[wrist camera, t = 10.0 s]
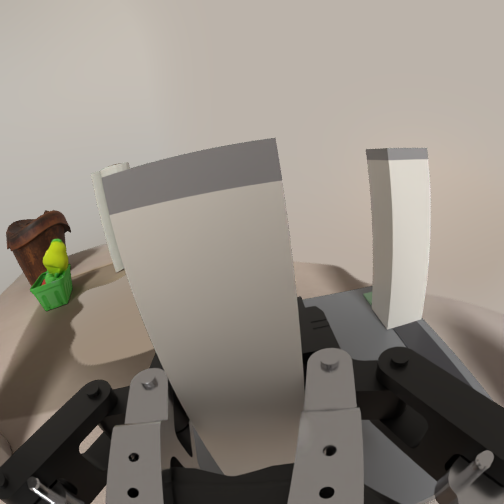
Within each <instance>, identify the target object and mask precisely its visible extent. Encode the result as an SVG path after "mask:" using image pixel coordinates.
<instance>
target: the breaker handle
mask: <svg viewBox="0 0 504 504" xmlns="http://www.w3.org/2000/svg"><path fill="white" fill-rule="evenodd" d="M102 184H103V189H104V193H105V198H106V202H107V207H108V211H109V215H110V219H111V223H112V227H113V231H114V235H115V239H116V242H117V246H118V249H119V253H120V256H121V259H122V263H123V266H124V269H125V272H126V275H127V278H128V281H129V284H130V287H131V290H132V293H133V296H134V299H135V301H136V304H137V307H138V309H139V312H140V315H141V317H142V320H143V322H144V325H145V327H146V330H147V332H148V335H149V337H150V340H151V342H152V344H153V347H154V349H155V351H156V353H157V356H158V358H159V360H160V362H161V365H162V367H163V369H164V371H165V373H166V375H167V377H168V379H169V381H170V383H171V385H172V387H173V389H174V391H175V393H176V395H177V397H178V399H179V401H180V403H181V405H182V407H183V408H184V410H185V412H186V414H187V416H188V417H189V419H190V421H191V423H192V424H193V426H194V428H195V430H196V431H197V433H198V435H199V436H200V438H201V440H202V441H203V443H204V445H205V446H206V448H207V449H208V451H209V452H210V454H211V456H212V457H213V459H214V460H215V462H216V463H217V465H218V466H219V468H220V469H221V471H222V472H223V473H224V475H227V476H238V475H242V474H245V473H249V472H253V471H256V470H260V469H263V468H266V467H270V466H274V465H282V464H289V463H294V461H295V455H296V447H297V440H298V432H299V424H300V416H301V411H302V410H303V408H304V398H305V389H304V374H303V360H302V348H301V336H300V325H299V314H298V304H297V294H296V284H295V275H294V266H293V258H292V249H291V241H290V234H289V226H288V219H287V211H286V204H285V197H284V190H283V183H282V176H281V170H280V163H279V158H278V151H277V145H276V139H275V138H271V139H264V140H257V141H251V142H244V143H238V144H232V145H227V146H221V147H216V148H211V149H206V150H201V151H197V152H192V153H188V154H183V155H179V156H175V157H171V158H167V159H163V160H159V161H156V162H151V163H148V164H144V165H141V166H137V167H134V168H131V169H127V170H124V171H120V172H117V173H114V174H111V175H108V176H105V177H102Z"/></svg>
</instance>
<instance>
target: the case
mask: <svg viewBox="0 0 504 504" xmlns="http://www.w3.org/2000/svg"><path fill="white" fill-rule="evenodd" d="M66 231H69V232H71V230H70V227H69V226H68V223H67V221H66V219H65V217H64V215H63V214H62V213H60V212H59V211H54V210H53V211H50V212H49V211H45V212H44V214H43V215H41V216H40V217H38V218H37V219H27V220H19V221H16V222H13V223H12V224H11V225H10V226H9V227H8V230H7V232H6V237H7V249H9V248H10V249H11V251H13V253H14V255H15V257H16V259H17V261H18V263H19V265H20V267H21V268H22V270H23V272H24V274H25V276H26V278H27V279H28V281H29V283H30V284H31V286H33V284H34V283H35V282H36V280H37V279H38V278H39V276H40V275H41V274H42V273H44V272H46V271H47V268H46V267H45V266H44V264H43V257H44V256H45V253H46V251H47V250H48V249H49V247H50V245H51V242H52V241H53V240H54V239H60V240H62V242H63V243H64V244H65V232H66ZM65 246H66V245H65Z"/></svg>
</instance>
